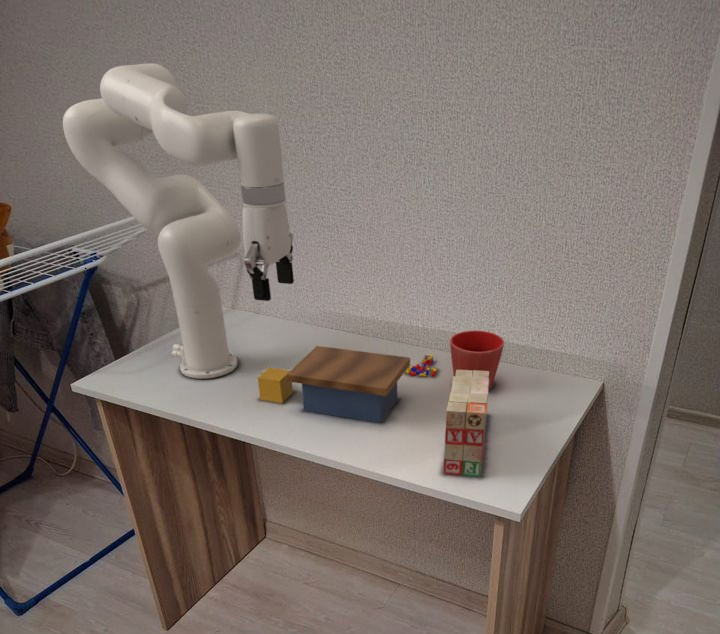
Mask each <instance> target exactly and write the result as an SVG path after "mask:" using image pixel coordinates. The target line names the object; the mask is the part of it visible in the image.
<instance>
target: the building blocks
mask: <svg viewBox="0 0 720 634" xmlns="http://www.w3.org/2000/svg"><path fill="white" fill-rule="evenodd" d="M422 358H423V359H422V364H423V366H421V365H420V363H417V364H416V365H414V366H413V365H409V367H408V368H407V369H406V371H405V374H406V375H410V376H411V377H413V376H416V375H418V377H421V378H422V377H425V378H426V377H427V375H429V374H431V377H433V378H434V377H435V376H436V374H437V373H436V372H437V371H438V369H437V368H436V367H431V368H430V367H429V366H431V365H432V364H433V363H434V355H433V354H428V353H427V354H425V355H423V357H422ZM430 370H431V371H432V372H430Z"/></svg>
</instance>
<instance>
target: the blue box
mask: <svg viewBox="0 0 720 634" xmlns="http://www.w3.org/2000/svg"><path fill="white" fill-rule="evenodd" d="M301 390H302V402H303V403H302V404H303V411H304V412H310V413H314V414H315V413H316V414H323V415H327V416H335V417H341V418H348V419H353V420H358V421H359V420H360V421H365V422H371V423H378V424H381V423H382V422H383V421H384V419H385V418H386V416H387V415H388V413H389V412H390V411H391V409H392V408H393V406H394V405H395V403H396V402H397V401H398V382H397V383H396V384H395V385H394V387H393V388H392V390H391V391H390V392H389V394H388V395H387V396H382V395H376V394H369V393H362V392H355V391H348V390H342V389H335V388H328V387H321V386H315V385H308V384H301Z"/></svg>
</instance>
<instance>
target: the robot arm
mask: <svg viewBox="0 0 720 634" xmlns="http://www.w3.org/2000/svg"><path fill="white" fill-rule="evenodd" d="M99 91H100V95H101V98H94V99H86V100H83V101H80V102H77V103H75V104H73V105H71V106H70V107H69V108H68V109H67V110H66V111H65V112H64V114H63V117H62V129H63V133H64V137H65V141H66V143H67V145H68V147H69V149H70V151H71V153H72V155H73V156H74V157H75V159H76V160H77V161H78V163H79V164H80V166H82V168H84V169H85V171H87V173H88V174H90V176H92V177H94V179H96V180H97V181H98V182H100V183H101V184H102V185H103V186H104V188H105V187H106V188H107V190H109V191H110V193H111V194H112V195H113V196H114V197H115V198H116V200H118V202H119V203H120V204H121V205H122V206H123V207H124V208H125V209H126V211H128V213H130V215H132V216H133V218H134V219H135V220H136V221H137V222H138V223H139V224H140V225H141V226H142V227H143V228H144V229H146V230H148V231H150V232H159V234H158V237H157V248H158V252H159V254H160V257H161V259H162V263H163V264H164V267H165V270H166V273H167V276H168V279H169V284H170V287H171V292H172V297H173V302H174V307H175V311H176V316H177V321H178V326H179V332H180V336H181V341H182V344H181V343H174V344H173V345H172V351H171V356H172V357H176V358H181V362H180V364H179V369H180V372H181V374H183V375H184V376H186V377H188V378H191V379H200V380H202V379H203V380H205V379H214V378H219V377H222V376H225V375H227V374H230V373H231V372H233V371H235V369H236V368H237V366H238V358H237V356H236V355H235V354H233V353H231V352H230V351H229V345H228V339H227V338H228V337H227V332H226V325H225V319H224V313H223V306H222V300H221V293H220V288H219V285H218V283H217V281H216V279H215V278H214V276H213V275H212V274H211V273H210V271H209V270H208V268H207V266H208V265H210V264H212V263H215V262H218V261H220V260H224V259H226V258H228V257H231V256H232V255H234V254H235V253H237V251H238V250H239V248H240V246H241V242H242V237H243V250H244V258H243V263H244V265H245V268H246V272H247V274H248V276H249V279H250V280H251V285H252V293H253V299H254V300H255V301H263V302H270V301H271V300H272V293H271V287H270V280H269V279H270V278H268V276H267V275H268V272H269V267H270V266H272V265H273V264H275V269H276V277H277V282H278V284H286V285H292V284H294V282H295V279H294V270H293V260H294V257H293V255H292V253H293V249H294V246H293V242H294V241H293V240H294V235H293V233H292V232H290V223H289V218H288V217H289V216H288V212H287V206H286V203H287V199H286V197H287V196H286V189H285V179H284V178H285V177H284V169H283V158H282V149H281V148H282V147H281V139H280V138H281V137H280V127H279V122H278V119H277V118H276V117H275V116H274V115H273V114H270V113H249V112H245V111H241V110H235V109H234V110H225V111H217V112H211V113H205V114H199V115H190V114H189V115H188V105H187V100H186V97H185V95H184V93H183V92H182V91H181V90H180V89H179V87H178V84H177V81H176V79H175V77H174V75H173V74H172V72H171V71H170V70H168V69H167V68H166V67H164V66H163V65H161V64H158V63H155V62H149V63H138V64H127V65H125V64H124V65H118V66H114V67H112V68H110V69H108V70H107V71H106V72H105V73H104V74H103V76H102V78H101V80H100V83H99ZM152 134H153V135H154V138H155V139H156V141H157V143H158V145H159V146H160V148H161V149H162V150H163V151H164V152H166V154H168V155H170V156H172V157H173V158H176V159H178V160H180V161H181V162H184V163H187V164H189V165H192V166H198V167H208V166H212V165H216V164H220V163H224V162H230V161H233V160H236V161H237V169H238V176H239V184H240V190H241V198H242V206H243V207H242V234H241V231H240V227H239V226H238V224H237V222H236V220H235V219H234V218H233V216H232V215H231V214H230V213H229V212H228V210H227V209H226V208H225V206H223V205H222V204H221V202H219V201H218V200H217V199H216V198H215V196H214V195H213V194H212V193H211V192H210V191H209V190H208V189H207V188H206V187H205V186H204V184H202V183H201V182H200V181H199V180H198V179H196V178H195V177H193V176H192V175H188V174H183V173H178V174H172V175H167V176H162V177H160V176H155V175H154V174H153V173H151V172H150V171H149V170H148V169H147V168H146V167H145V165H144V164H142V162H141V161H140V160H138V158H135V157H134V156H133V155H131V154H129V153H127V152H125V151H123V150H121V149H119V148H117V147H115V146H121V145H127V144H131V143H137V142H141V141H144V140H146V139H147V138H149V137H150V136H151V135H152ZM241 235H242V236H241ZM259 267H260V268H261V269H260V268H259Z"/></svg>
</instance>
